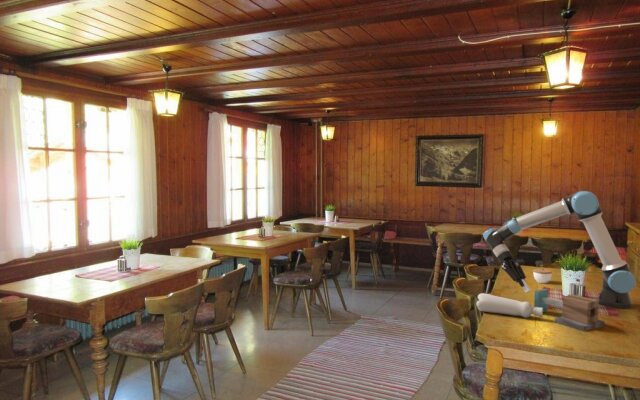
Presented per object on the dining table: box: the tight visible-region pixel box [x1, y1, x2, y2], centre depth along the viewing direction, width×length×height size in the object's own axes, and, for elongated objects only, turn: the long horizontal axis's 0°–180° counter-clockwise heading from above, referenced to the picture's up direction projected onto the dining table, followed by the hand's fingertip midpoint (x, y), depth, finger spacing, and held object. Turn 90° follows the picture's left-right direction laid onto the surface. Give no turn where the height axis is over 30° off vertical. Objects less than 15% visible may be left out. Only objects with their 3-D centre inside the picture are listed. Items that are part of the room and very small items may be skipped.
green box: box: [533, 288, 563, 313], centre depth 227 cm, size 8×18×11 cm, turn 29°
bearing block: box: [554, 294, 605, 332], centre depth 217 cm, size 16×14×12 cm
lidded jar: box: [532, 267, 553, 284], centre depth 298 cm, size 11×11×9 cm
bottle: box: [476, 292, 544, 319], centre depth 230 cm, size 9×9×30 cm
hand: (528, 291), depth 240 cm, fingers closed
